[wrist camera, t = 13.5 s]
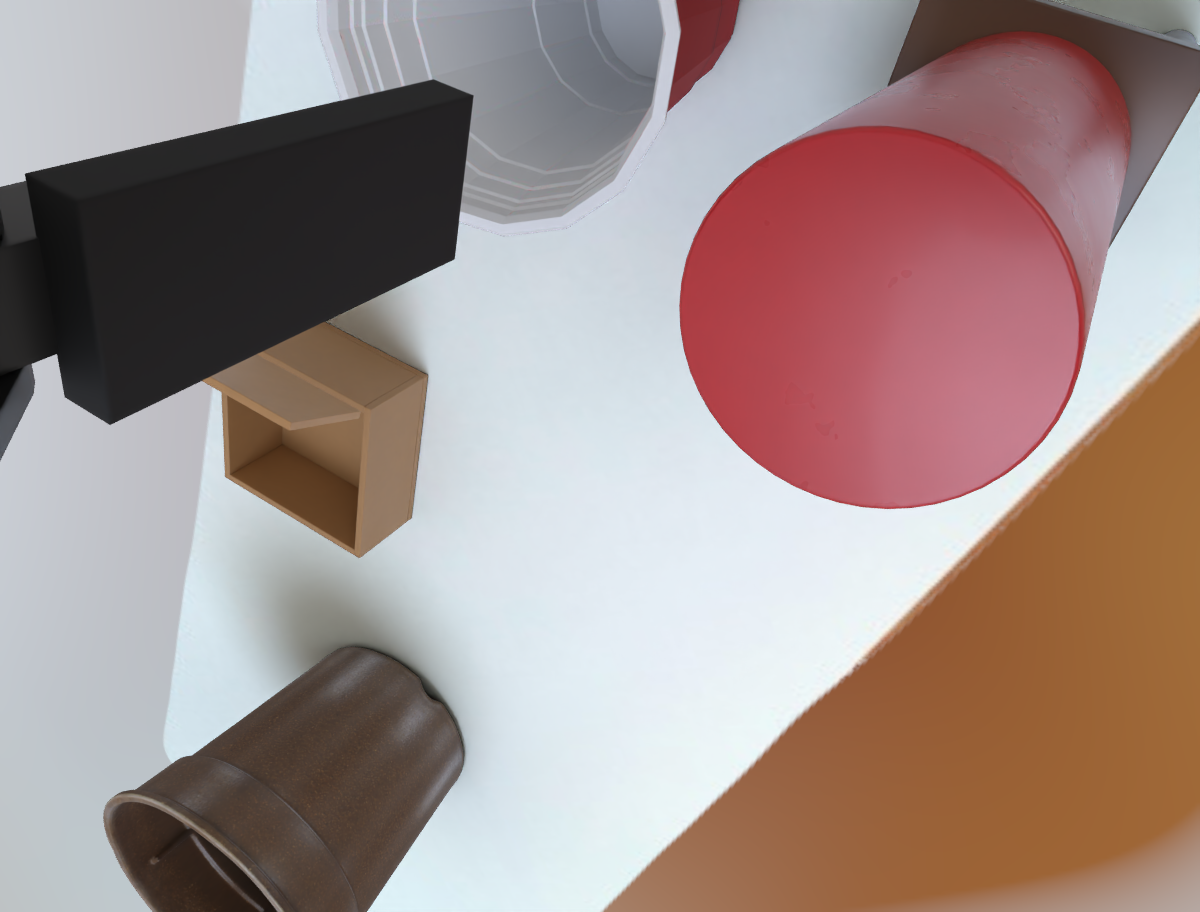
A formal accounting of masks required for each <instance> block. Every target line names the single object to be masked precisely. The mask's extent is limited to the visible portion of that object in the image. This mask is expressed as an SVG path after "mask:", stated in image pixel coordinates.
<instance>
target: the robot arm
mask: <svg viewBox="0 0 1200 912" xmlns="http://www.w3.org/2000/svg"><path fill="white" fill-rule="evenodd" d="M473 98H474V95H472V94H469V93H467V92H464V91H462V90H459V89H457V88H454V87H452V86H449V85H447V84H444V83H442V82H439V81H437V80H434V79H432V80H428V81H424V82H419V83H415V84H411V85H406V86H402V87H398V88H393V89H389V90H385V91H381V92H376V93H372V94H368V95H363V96H359V97H355V98H350V99H346V100H342V101H337V102H333V103H329V104H324V105H320V106H316V107H311V108H307V109H303V110H298V111H294V112H290V113H285V114H281V115H277V116H272V117H268V118H264V119H259V120H255V121H251V122H246V123H242V124H238V125H233V126H229V127H225V128H221V129H216V130H212V131H208V132H203V133H199V134H194V135H190V136H186V137H181V138H177V139H173V140H169V141H164V142H160V143H155V144H151V145H147V146H142V147H138V148H134V149H130V150H125V151H121V152H117V153H112V154H108V155H104V156H100V157H95V158H91V159H86V160H82V161H78V162H73V163H69V164H65V165H60V166H56V167H52V168H47V169H43V170H39V171H35V172H30V173H26V174H25V177H26V181H24V182H20V183H15V184H11V185H7V186H3V187H0V460H1V458H2V456H3V454H4V452H5V450H6V448H7V446H8V444H9V442H10V440H11V438H12V436H13V434H14V432H15V430H16V428H17V426H18V424H19V422H20V420H21V418H22V416H23V414H24V412H25V410H26V407H27V406H28V404H29V402H30V400H31V398H32V396H33V393H34V385H35V380H34V374H33V369H32V365H31V364H32V363H35V362H37V361H40V360H42V359H45V358H47V357H50V356H52V355H55V354H57V355H58V362H59V367H60V373H61V378H62V384H63V390H64V395H65V397H66V398H67V399H69V400H70V401H72V402H74V403H75V404H77V405H78V406H80V407H82V408H83V409H85V410H87V411H88V412H90V413H92V414H93V415H95V416H96V417H98V418H100V419H101V420H103V421H105V422H106V423H108V424H109V425H111V424H113V423H115V422H117V421H119V420H121V419H123V418H125V417H127V416H129V415H132V414H134V413H136V412H138V411H140V410H142V409H144V408H146V407H148V406H150V405H152V404H154V403H156V402H159V401H161V400H163V399H165V398H167V397H169V396H171V395H173V394H175V393H177V392H179V391H181V390H184V389H186V388H187V387H190V386H192V385H194V384H196V383H198V382H200V381H202V380H204V379H206V378H209V377H211V376H213V375H215V374H217V373H219V372H221V371H223V370H225V369H227V368H229V367H231V366H234V365H236V364H238V363H240V362H242V361H244V360H246V359H248V358H250V357H252V356H254V355H256V354H258V353H261V352H263V351H265V350H267V349H269V348H271V347H273V346H275V345H277V344H279V343H281V342H283V341H286V340H288V339H290V338H292V337H294V336H296V335H298V334H300V333H302V332H304V331H306V330H308V329H310V328H313V327H315V326H317V325H319V324H321V323H323V322H325V321H327V320H329V319H331V318H333V317H335V316H338V315H340V314H342V313H344V312H346V311H348V310H350V309H352V308H354V307H356V306H358V305H360V304H362V303H365V302H367V301H369V300H371V299H373V298H375V297H377V296H379V295H381V294H383V293H385V292H387V291H390V290H392V289H394V288H396V287H398V286H400V285H402V284H404V283H406V282H408V281H410V280H412V279H415V278H417V277H419V276H421V275H423V274H425V273H427V272H429V271H431V270H433V269H435V268H437V267H439V266H442V265H444V264H446V263H448V262H450V261H452V260H454V259H455V251H456V243H457V234H458V226H459V217H460V209H461V200H462V192H463V183H464V174H465V166H466V157H467V149H468V140H469V132H470V123H471V115H472V106H473Z"/></svg>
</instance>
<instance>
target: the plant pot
mask: <svg viewBox="0 0 1200 912" xmlns="http://www.w3.org/2000/svg"><path fill="white" fill-rule="evenodd" d="M462 767H463V748H462V743H461V739H460V736H459V733H458V730H457V728H456V726H455V724H454V721H453V720H452V718H451V716H450V714H449V712H448V711H447V709H446V708H445V706H444V705H443V704H442V703H441V702H439V701H435V700H432V699H431V698H430V697H429V696H428V695H427V694H426V692H425V691H424V689H423V687H422V683H421V680H420V678H419V677H418V676H416V675H415V674H414V673H413V672H411V671H410V670H409V669H407V668H406V667H404V666H403V665H401V664H400V663H398V662H397V661H395V660H393V659H391V658H390V657H387V656H385V655H383V654H381V653H378V652H375V651H372V650H369V649H365V648H359V647H345V648H340V649H338V650H336V651H334V652H333V653H331V654H330V655H328V656H327V657H325V658H324V659H322V660H321V661H320V662H319V663H317V664H316V665H315V666H314V667H312V668H311V669H310V670H308V671H307V672H305V673H304V674H303V675H301V676H300V677H299V678H297V679H296V680H295V681H293V682H292V683H290V684H289V685H288V686H286V687H285V688H284V689H282V690H281V691H280V692H278V693H277V694H275V695H274V696H273V697H271V698H270V699H269V700H267V701H266V702H265V703H263V704H262V705H261V706H259V707H258V708H256V709H255V710H254V711H252V712H251V713H250V714H248V715H247V716H246V717H244V718H243V719H242V720H240V721H239V722H238V723H236V724H235V725H233V726H232V727H231V728H229V729H228V730H226V731H225V732H224V733H222V734H221V735H219V736H218V737H217V738H215V739H214V740H213V741H211V742H210V743H209V744H207V745H206V746H204V747H203V748H202V749H200V750H199V751H198V752H196V753H195V754H194V755H192V756H186V757H183V758H180V759H178V760H177V761H175V762H174V763H172V764H171V765H170V766H168V767H167V768H165V769H164V770H163V771H161V772H160V773H159V774H157V775H156V776H154V777H153V778H151V779H150V780H149V781H147V782H146V783H144V784H143V785H142V786H140V787H139V788H137V789H136V790H129V791H124V792H121V793H119V794H117V795H115V796H114V797H113V798H112V799H110V800H109V801H108V802H107V804H106V806H105V809H104V816H103V819H104V827H105V831H106V835H107V838H108V840H109V843H110V845H111V847H112V849H113V850H114V853H115V856H116V858H117V860H118V862H119V864H120V866H121V868H122V870H123V871H124V873H125V874H126V876H127V878H128V879H129V881H130V882H131V884H132V885H133V887H134V888H135V889H136V891H137V892H138V894H139V895H140V896H141V898H142V899H143V900H144V901H145V903H146V904H147V905H148V907H149V908H150V909H151V910H152V911H153V912H367V911H368V909H369V908H370V906H371V905H372V903H373V902H374V900H375V899H376V898H377V896H378V895H379V893H380V892H381V890H382V889H383V887H384V886H385V884H386V883H387V881H388V880H389V878H390V877H391V875H392V874H393V872H394V871H395V869H396V868H397V866H398V865H399V864H400V862H401V861H402V859H403V858H404V856H405V855H406V853H407V852H408V850H409V849H410V847H411V846H412V844H413V843H414V841H415V840H416V838H417V837H418V835H419V834H420V832H421V831H422V830H423V828H424V827H425V825H426V824H427V822H428V821H429V819H430V818H431V816H432V815H433V813H434V812H435V810H436V809H437V807H438V806H439V804H440V803H441V802H442V800H443V799H444V797H445V796H446V794H447V793H448V791H449V790H450V789H451V787H452V786H453V785H454V783H455V782H456V781H457V779H458V777H459V776H460V773H461V771H462Z"/></svg>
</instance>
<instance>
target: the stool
mask: <svg viewBox="0 0 1200 912" xmlns="http://www.w3.org/2000/svg"><path fill="white" fill-rule="evenodd" d="M1020 31H1026V32H1037V33H1043V34H1048V35H1052V36H1056V37H1059V38H1062V39H1064V40H1067V41H1069V42H1072V43H1074V44H1075V45H1077V46H1079V47H1081V48H1082V49H1084V50H1086V51H1087V52H1088V53H1090V54H1091V55H1092V56H1093V57H1095V58H1096V59H1097V60H1098V61H1099V62H1100V63H1101V64H1102V65H1103V66H1104V67H1105V68H1106V69H1107V70H1108V71H1109V73H1110V74H1111V75H1112V77H1113V79H1114V80H1115V82H1116V83H1117V85H1118V86H1119V88H1120V91H1121V93H1122V95H1123V97H1124V100H1125V102H1126V106H1127V110H1128V113H1129V117H1130V126H1131V150H1130V155H1129V161H1128V166H1127V171H1126V175H1125V179H1124V183H1123V188H1122V192H1121V196H1120V201H1119V205H1118V209H1117V213H1116V218H1115V222H1114V226H1113V231H1112V235H1111V239H1110V243H1109V247H1110V245H1111V244H1112V242H1113V240H1114V238H1115V237H1116V235H1117V233H1118V232H1119V230H1120V228H1121V226H1122V225H1123V223H1124V221H1125V220H1126V218H1127V216H1128V214H1129V213H1130V211H1131V209H1132V207H1133V206H1134V204H1135V202H1136V201H1137V199H1138V197H1139V195H1140V194H1141V192H1142V190H1143V188H1144V187H1145V185H1146V183H1147V182H1148V180H1149V178H1150V176H1151V175H1152V173H1153V171H1154V170H1155V168H1156V166H1157V164H1158V163H1159V161H1160V159H1161V157H1162V156H1163V154H1164V152H1165V151H1166V149H1167V147H1168V145H1169V144H1170V142H1171V140H1172V139H1173V137H1174V135H1175V133H1176V132H1177V130H1178V128H1179V126H1180V125H1181V123H1182V121H1183V120H1184V118H1185V116H1186V114H1187V113H1188V111H1189V109H1190V108H1191V106H1192V104H1193V102H1194V101H1195V99H1196V97H1197V95H1198V94H1199V92H1200V45H1197V42H1196V39H1195V37H1194V36H1193V35H1192V34H1191V33H1190V32H1188V31H1185V30H1173V31H1170V32H1168V33H1166V34H1160V33H1157V32H1154V31H1150V30H1147V29H1144V28H1140V27H1137V26H1134V25H1130V24H1127V23H1124V22H1120V21H1117V20H1114V19H1110V18H1107V17H1104V16H1100V15H1097V14H1094V13H1090V12H1087V11H1084V10H1081V9H1077V8H1074V7H1071V6H1067V5H1064V4H1061V3H1057V2H1054V1H1051V0H920V2H919V5H918V7H917V10H916V13H915V15H914V18H913V21H912V23H911V26H910V28H909V31H908V34H907V36H906V39H905V41H904V44H903V47H902V49H901V52H900V54H899V57H898V60H897V62H896V65H895V68H894V70H893V73H892V75H891V78H890V81H889V83H888V86H890V85H892V84H893V83H895V82H897V81H899V80H900V79H902V78H904V77H906V76H908V75H909V74H911V73H913V72H915V71H916V70H918V69H920V68H922V67H924V66H925V65H927V64H929V63H931V62H932V61H934V60H936V59H938V58H940V57H941V56H943V55H945V54H947V53H948V52H950V51H952V50H954V49H956V48H957V47H959V46H962V45H964V44H966V43H968V42H970V41H973V40H975V39H979V38H982V37H985V36H988V35H993V34H999V33H1004V32H1020ZM888 86H887V87H888ZM1108 249H1109V248H1108Z"/></svg>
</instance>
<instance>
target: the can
mask: <svg viewBox="0 0 1200 912" xmlns="http://www.w3.org/2000/svg"><path fill="white" fill-rule="evenodd" d="M1130 150H1131V126H1130V117H1129V113H1128V110H1127V106H1126V102H1125V100H1124V97H1123V95H1122V93H1121V91H1120V88H1119V86H1118V85H1117V83H1116V82H1115V80H1114V79H1113V77H1112V75H1111V74H1110V73H1109V71H1108V70H1107V69H1106V68H1105V67H1104V66H1103V65H1102V64H1101V63H1100V62H1099V61H1098V60H1097V59H1096V58H1095V57H1093V56H1092V55H1091V54H1090V53H1088V52H1087V51H1086V50H1084V49H1082V48H1081V47H1079V46H1077V45H1075V44H1074V43H1072V42H1069V41H1067V40H1064V39H1062V38H1059V37H1056V36H1052V35H1048V34H1043V33H1037V32H1026V31H1020V32H1004V33H999V34H993V35H988V36H985V37H982V38H979V39H975V40H973V41H970V42H968V43H966V44H964V45H962V46H959V47H957V48H956V49H954V50H952V51H950V52H948V53H947V54H945V55H943V56H941V57H940V58H938V59H936V60H934V61H932V62H931V63H929V64H927V65H925V66H924V67H922V68H920V69H918V70H916V71H915V72H913V73H911V74H909V75H908V76H906V77H904V78H902V79H900V80H899V81H897V82H895V83H893V84H892V85H890V86H888V87H886V88H884V89H883V90H881V91H879V92H877V93H876V94H874V95H872V96H870V97H868V98H867V99H865V100H863V101H861V102H860V103H858V104H856V105H854V106H852V107H851V108H849V109H847V110H845V111H844V112H842V113H840V114H838V115H837V116H835V117H833V118H831V119H829V120H828V121H826V122H824V123H822V124H821V125H819V126H817V127H815V128H813V129H812V130H810V131H808V132H806V133H805V134H803V135H801V136H799V137H797V138H796V139H794V140H792V141H790V142H789V143H787V144H785V145H783V146H781V147H780V148H778V149H776V150H775V151H773V152H771V153H770V154H768V155H766V156H765V157H763V158H761V159H760V160H758V161H757V162H755V163H754V164H753V165H752V166H750V167H749V168H748V169H747V170H745V171H744V172H743V173H742V174H740V175H739V176H738V177H737V178H736V179H735V180H734V181H733V182H732V183H731V184H730V185H729V186H728V187H727V188H726V189H725V191H724V192H723V193H722V194H721V195H720V196H719V197H718V199H717V200H716V202H715V203H714V204H713V206H712V207H711V209H710V210H709V211H708V213H707V214H706V216H705V218H704V219H703V221H702V223H701V225H700V227H699V229H698V231H697V233H696V235H695V237H694V239H693V242H692V245H691V248H690V250H689V253H688V256H687V259H686V263H685V268H684V272H683V277H682V282H681V293H680V305H679V307H680V329H681V335H682V341H683V347H684V352H685V355H686V359H687V362H688V365H689V369H690V372H691V374H692V377H693V379H694V382H695V384H696V386H697V389H698V391H699V393H700V395H701V397H702V398H703V400H704V402H705V404H706V405H707V407H708V409H709V411H710V412H711V414H712V415H713V416H714V418H715V419H716V420H717V422H718V423H719V425H720V426H721V427H722V429H723V430H724V431H725V432H726V433H727V434H728V436H729V437H730V438H731V439H732V440H733V441H734V442H735V443H736V444H737V445H738V447H740V448H741V449H742V450H743V451H744V452H745V453H746V454H747V455H749V456H750V457H751V458H752V459H753V460H754V461H755V462H757V463H758V464H759V465H761V466H762V467H764V468H765V469H767V470H768V471H769V472H771V473H772V474H774V475H775V476H777V477H779V478H781V479H782V480H784V481H786V482H788V483H789V484H791V485H793V486H795V487H797V488H799V489H802V490H804V491H807V492H809V493H811V494H814V495H816V496H819V497H822V498H826V499H829V500H832V501H835V502H839V503H844V504H849V505H854V506H860V507H869V508H882V509H896V508H914V507H920V506H927V505H933V504H938V503H941V502H945V501H948V500H952V499H955V498H959V497H962V496H964V495H966V494H969V493H971V492H973V491H976V490H978V489H981V488H983V487H985V486H987V485H988V484H990V483H992V482H993V481H995V480H997V479H999V478H1000V477H1002V476H1004V475H1005V474H1007V473H1008V472H1009V471H1011V470H1012V469H1013V468H1014V467H1016V466H1017V465H1018V464H1020V463H1021V462H1022V461H1023V460H1025V459H1026V458H1027V457H1028V456H1029V455H1030V454H1031V453H1032V452H1033V451H1034V450H1035V449H1036V448H1037V447H1038V446H1039V445H1040V444H1041V443H1042V441H1043V440H1044V439H1045V438H1046V436H1047V435H1048V434H1049V432H1050V431H1051V429H1052V428H1053V427H1054V425H1055V424H1056V423H1057V421H1058V420H1059V418H1060V416H1061V414H1062V412H1063V410H1064V409H1065V407H1066V405H1067V403H1068V401H1069V399H1070V397H1071V395H1072V392H1073V389H1074V386H1075V383H1076V380H1077V377H1078V374H1079V371H1080V368H1081V363H1082V359H1083V355H1084V350H1085V346H1086V342H1087V338H1088V333H1089V329H1090V325H1091V320H1092V316H1093V312H1094V308H1095V303H1096V299H1097V295H1098V290H1099V286H1100V282H1101V278H1102V273H1103V269H1104V265H1105V261H1106V256H1107V252H1108V248H1109V243H1110V239H1111V235H1112V231H1113V226H1114V222H1115V218H1116V213H1117V209H1118V205H1119V201H1120V196H1121V192H1122V188H1123V183H1124V179H1125V175H1126V171H1127V166H1128V161H1129V155H1130Z"/></svg>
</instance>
